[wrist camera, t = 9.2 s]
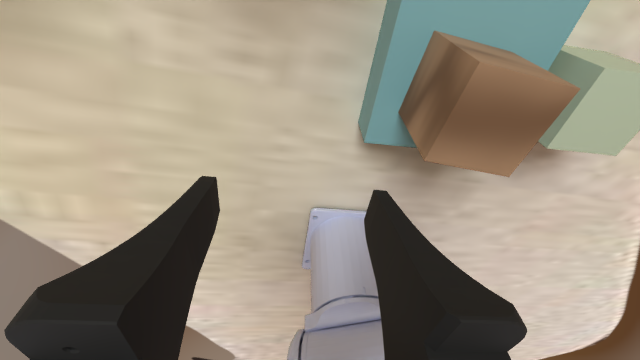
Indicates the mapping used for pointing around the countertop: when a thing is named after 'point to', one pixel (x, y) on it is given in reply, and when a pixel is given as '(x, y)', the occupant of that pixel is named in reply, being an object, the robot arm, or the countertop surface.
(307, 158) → the countertop surface
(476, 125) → the walnut block
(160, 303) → the robot arm
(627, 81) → the sage block
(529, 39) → the teal base block
